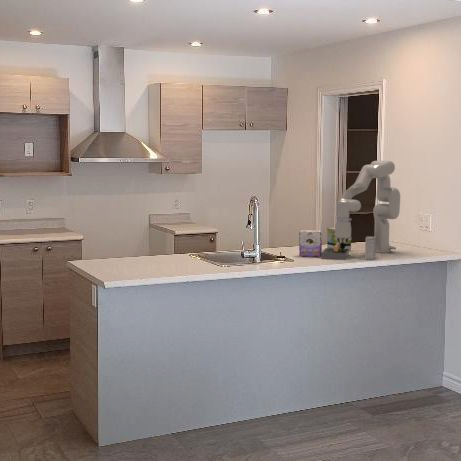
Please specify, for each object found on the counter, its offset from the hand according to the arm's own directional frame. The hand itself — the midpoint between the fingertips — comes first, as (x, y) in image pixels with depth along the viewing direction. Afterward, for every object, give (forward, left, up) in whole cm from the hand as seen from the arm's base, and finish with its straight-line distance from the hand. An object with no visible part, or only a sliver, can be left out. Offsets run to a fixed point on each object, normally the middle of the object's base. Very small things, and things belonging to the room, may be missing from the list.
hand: (342, 249), depth 458 cm
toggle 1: (+4, 0, -1) cm, 4 cm away
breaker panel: (+5, 0, -5) cm, 7 cm away
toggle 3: (+4, -6, -1) cm, 7 cm away
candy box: (+20, +1, -5) cm, 21 cm away
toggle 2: (+4, +5, -1) cm, 7 cm away
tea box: (+5, -30, -5) cm, 31 cm away
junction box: (-17, 0, -5) cm, 18 cm away
